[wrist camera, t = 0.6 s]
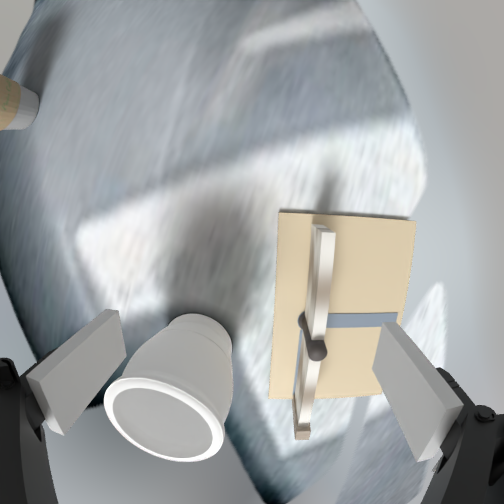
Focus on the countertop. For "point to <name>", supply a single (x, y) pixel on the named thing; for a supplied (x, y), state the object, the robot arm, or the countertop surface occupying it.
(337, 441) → the countertop surface
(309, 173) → the countertop surface
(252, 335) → the countertop surface
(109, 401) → the jar
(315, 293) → the fence flap
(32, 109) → the coffee cup
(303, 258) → the card
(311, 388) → the fence fixed
